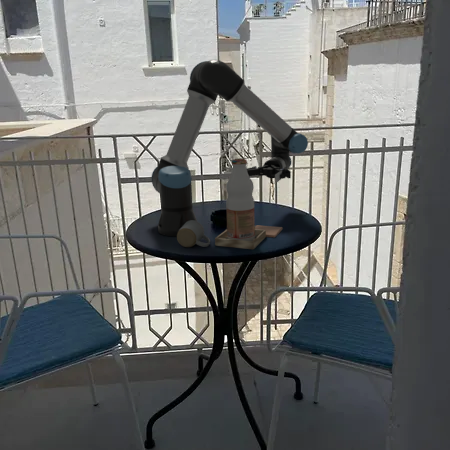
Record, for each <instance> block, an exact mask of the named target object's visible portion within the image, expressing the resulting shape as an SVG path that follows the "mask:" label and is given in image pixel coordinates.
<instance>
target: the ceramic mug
mask: <svg viewBox="0 0 450 450" xmlns="http://www.w3.org/2000/svg"><path fill="white" fill-rule="evenodd" d="M204 229H205V228H204V226H203V224H201V223H200V222H199V221H198V220H197V221H195V220H190V221H187V222H186V223H185V224H184V225H183V226H182V227H181V228H180V230H179V231H178V233H177V236H176V239H177V242H178V244H180V246H182V247H184V248H192V247H194V246H195V245H197V246H200V247H203V248H205V247H209V245H210V243H211V239H210V238H209V237H208V236H207V235H205V230H204ZM201 240H204V241H205V242H204V241H201Z"/></svg>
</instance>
